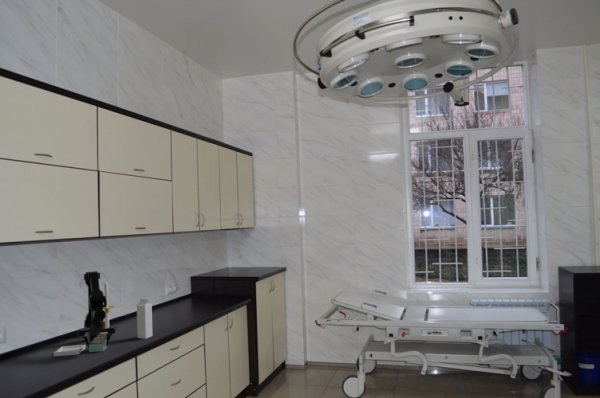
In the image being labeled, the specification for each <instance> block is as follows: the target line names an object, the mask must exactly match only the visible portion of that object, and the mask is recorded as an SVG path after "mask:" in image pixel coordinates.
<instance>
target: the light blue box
mask: <svg viewBox="0 0 600 398" xmlns="http://www.w3.org/2000/svg"><path fill="white" fill-rule="evenodd" d="M106 341H107V339H106V340H104V339H103V343H102V344H93V341H91V342H90V344H89V348H88V352H89V353H94V352H95V353H96V352H104V351H105V350H106V349H107V348H108V346H107V347H106Z"/></svg>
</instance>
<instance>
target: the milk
mask: <svg viewBox="0 0 600 398" xmlns="http://www.w3.org/2000/svg"><path fill="white" fill-rule="evenodd" d="M152 306H153V305H152V303H151V302H149V299H145V298H144V299H143V298H140V299H139V302H138V303H137V304H136V326H137V327H136V329H137V339H144V340H145V339H149V338H151V337H153V307H152Z"/></svg>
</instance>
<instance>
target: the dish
mask: <svg viewBox="0 0 600 398" xmlns="http://www.w3.org/2000/svg"><path fill="white" fill-rule="evenodd" d="M84 350H86V344H81V345H80V344H77V345H66V346H65V345H64V346H60V347H59V348H58V349H57V350H55V351H54V352H53V357H61V356H62V357H63V356H75V355H80V354H81V353H82V352H83V351H84Z"/></svg>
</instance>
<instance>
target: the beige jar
mask: <svg viewBox="0 0 600 398" xmlns="http://www.w3.org/2000/svg"><path fill="white" fill-rule="evenodd" d="M98 337H99V338H94V339H93V341H92V342H93V344H102V343H103V340H104V337H102V336H101V337H100V336H98Z"/></svg>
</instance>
